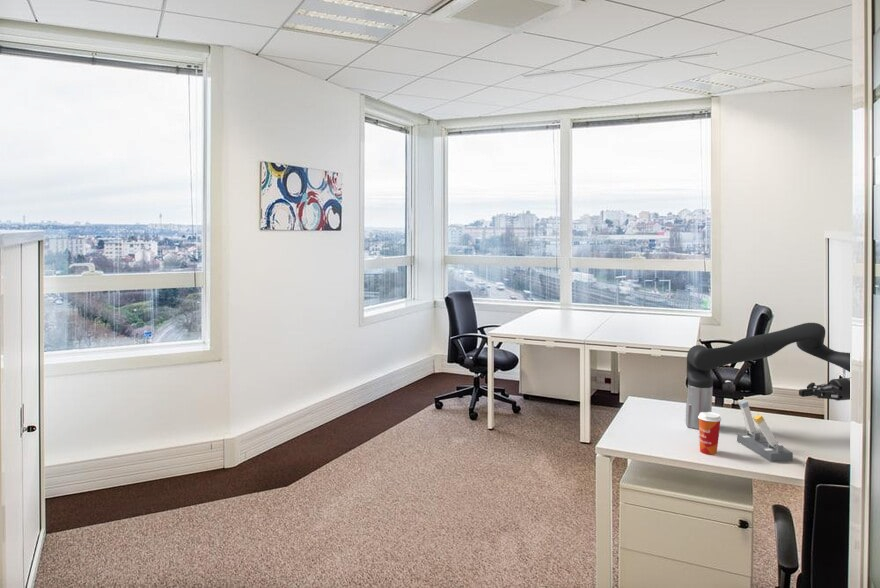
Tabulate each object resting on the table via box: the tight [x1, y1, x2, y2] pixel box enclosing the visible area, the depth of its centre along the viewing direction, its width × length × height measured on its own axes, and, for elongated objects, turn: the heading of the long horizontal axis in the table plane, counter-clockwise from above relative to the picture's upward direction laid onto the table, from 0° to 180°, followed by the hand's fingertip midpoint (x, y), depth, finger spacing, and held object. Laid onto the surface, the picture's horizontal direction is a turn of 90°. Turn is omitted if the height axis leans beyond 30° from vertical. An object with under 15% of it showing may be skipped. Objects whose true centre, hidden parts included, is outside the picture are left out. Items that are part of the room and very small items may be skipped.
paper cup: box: [698, 411, 722, 456], centre depth 212 cm, size 8×8×14 cm
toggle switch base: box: [736, 428, 794, 463], centre depth 213 cm, size 8×20×5 cm, turn 5°
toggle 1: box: [738, 399, 757, 436], centre depth 218 cm, size 2×3×14 cm
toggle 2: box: [752, 414, 779, 449], centre depth 205 cm, size 2×3×14 cm
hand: (800, 393), depth 205 cm, fingers closed
